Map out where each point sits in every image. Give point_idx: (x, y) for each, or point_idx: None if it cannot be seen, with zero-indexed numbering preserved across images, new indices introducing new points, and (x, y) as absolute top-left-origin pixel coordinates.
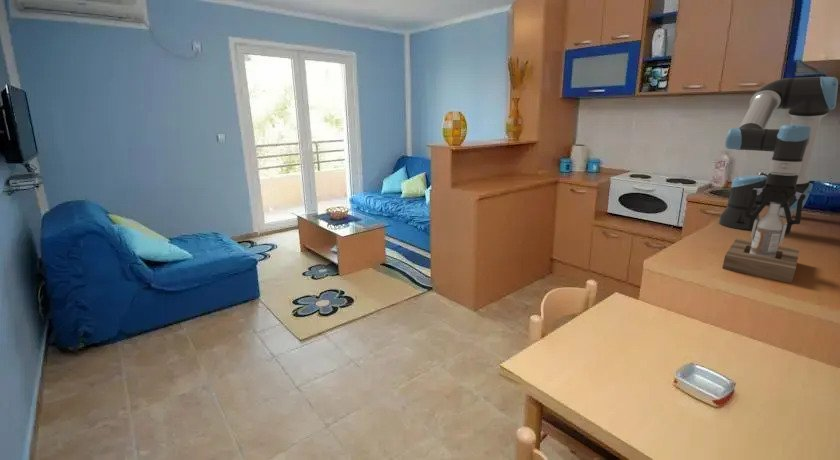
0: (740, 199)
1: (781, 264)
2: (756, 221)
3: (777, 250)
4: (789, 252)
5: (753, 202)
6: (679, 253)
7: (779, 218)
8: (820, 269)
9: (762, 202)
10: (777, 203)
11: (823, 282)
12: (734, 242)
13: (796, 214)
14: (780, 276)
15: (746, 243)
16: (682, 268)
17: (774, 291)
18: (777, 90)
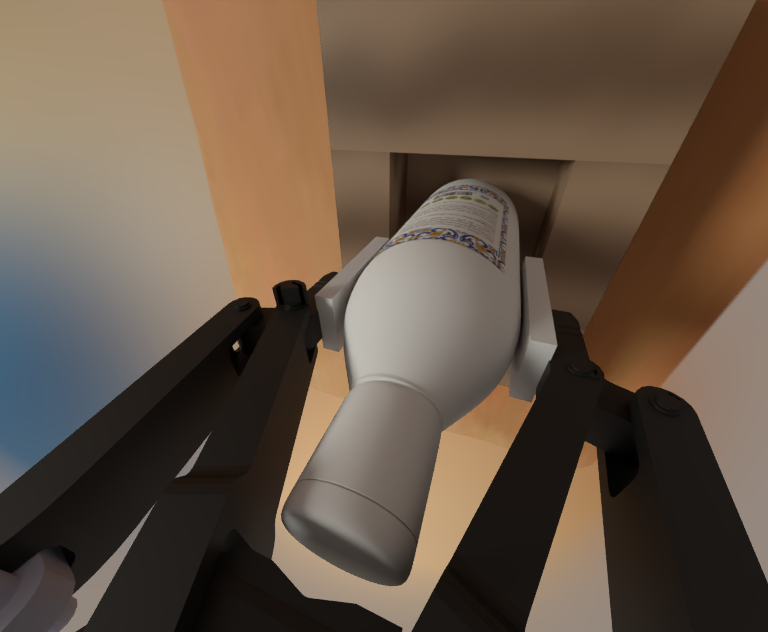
0: None
1: (509, 374)
2: (338, 345)
3: (545, 152)
4: (618, 151)
5: (176, 465)
6: (249, 243)
7: (462, 416)
8: None
9: (207, 442)
10: (360, 564)
11: (690, 303)
12: (333, 137)
13: (610, 541)
14: None
15: (384, 104)
16: None
17: (485, 416)
18: None
